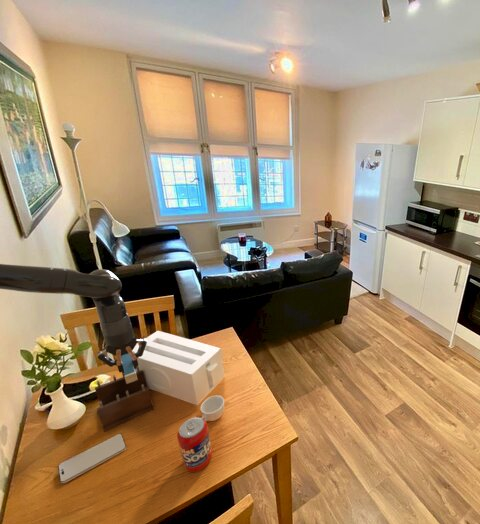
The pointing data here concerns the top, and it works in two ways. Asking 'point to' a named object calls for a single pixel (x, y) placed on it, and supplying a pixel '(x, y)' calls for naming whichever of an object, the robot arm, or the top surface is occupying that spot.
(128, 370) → the peg
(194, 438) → the soda can
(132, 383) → the rack
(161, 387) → the toaster
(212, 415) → the teacup
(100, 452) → the smartphone
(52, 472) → the top surface
